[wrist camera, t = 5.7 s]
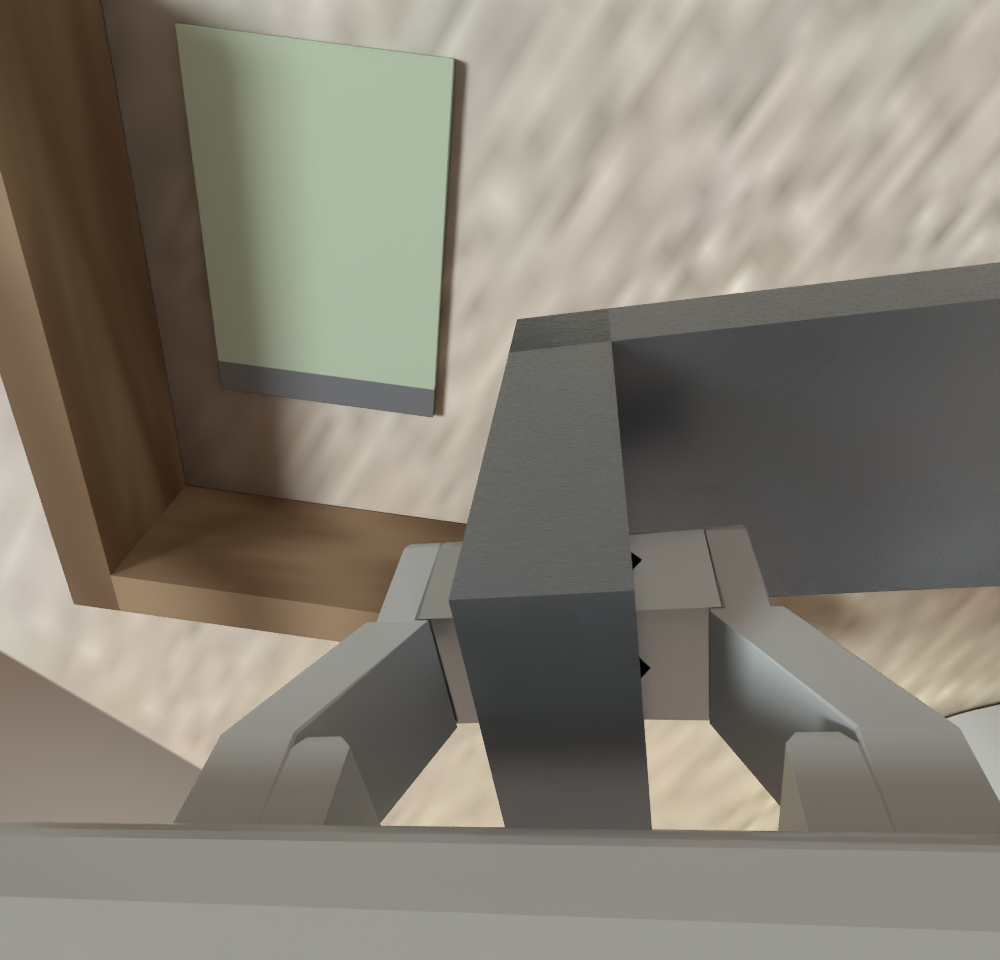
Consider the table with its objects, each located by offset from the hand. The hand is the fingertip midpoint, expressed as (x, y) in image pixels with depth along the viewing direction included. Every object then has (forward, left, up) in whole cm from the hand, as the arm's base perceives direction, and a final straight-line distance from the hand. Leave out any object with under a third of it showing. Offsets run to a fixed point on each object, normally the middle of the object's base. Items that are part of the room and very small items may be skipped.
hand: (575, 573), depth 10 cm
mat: (+7, 0, -13) cm, 15 cm away
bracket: (-3, -1, -4) cm, 5 cm away
